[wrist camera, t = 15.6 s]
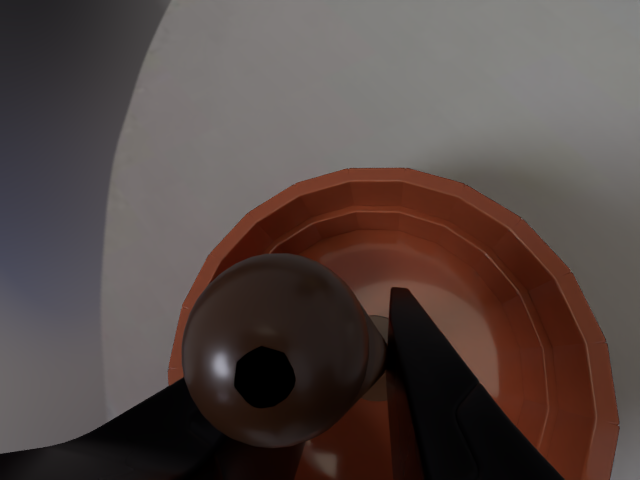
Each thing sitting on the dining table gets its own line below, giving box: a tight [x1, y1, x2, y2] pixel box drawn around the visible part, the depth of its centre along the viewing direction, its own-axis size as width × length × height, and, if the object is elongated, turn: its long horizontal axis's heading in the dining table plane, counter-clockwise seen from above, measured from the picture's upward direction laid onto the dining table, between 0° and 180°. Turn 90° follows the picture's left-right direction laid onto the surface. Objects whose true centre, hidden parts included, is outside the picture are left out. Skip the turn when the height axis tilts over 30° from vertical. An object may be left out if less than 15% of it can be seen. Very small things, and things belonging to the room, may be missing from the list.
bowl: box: [168, 168, 620, 480], centre depth 13 cm, size 13×13×5 cm
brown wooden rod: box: [182, 253, 389, 448], centre depth 8 cm, size 3×3×13 cm
